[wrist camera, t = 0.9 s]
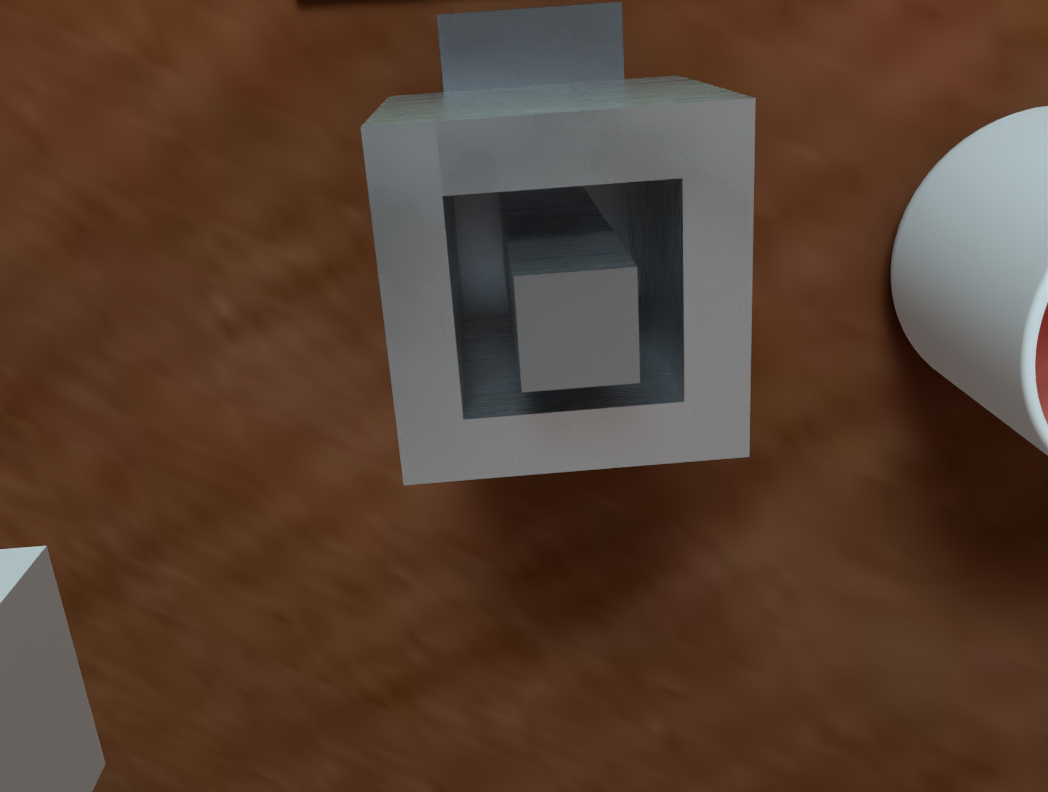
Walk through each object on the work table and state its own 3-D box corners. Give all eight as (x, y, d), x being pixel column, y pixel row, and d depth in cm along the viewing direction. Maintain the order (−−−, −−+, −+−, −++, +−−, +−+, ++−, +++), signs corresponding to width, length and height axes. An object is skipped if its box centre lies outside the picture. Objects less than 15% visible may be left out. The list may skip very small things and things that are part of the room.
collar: (419, 369, 30) (403, 485, 23) (389, 96, 28) (360, 126, 20) (680, 348, 31) (749, 456, 23) (677, 75, 28) (755, 98, 20)
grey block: (472, 372, 36) (477, 602, 22) (441, 14, 32) (420, 15, 18) (611, 361, 36) (704, 582, 22) (598, 3, 32) (703, -5, 18)
